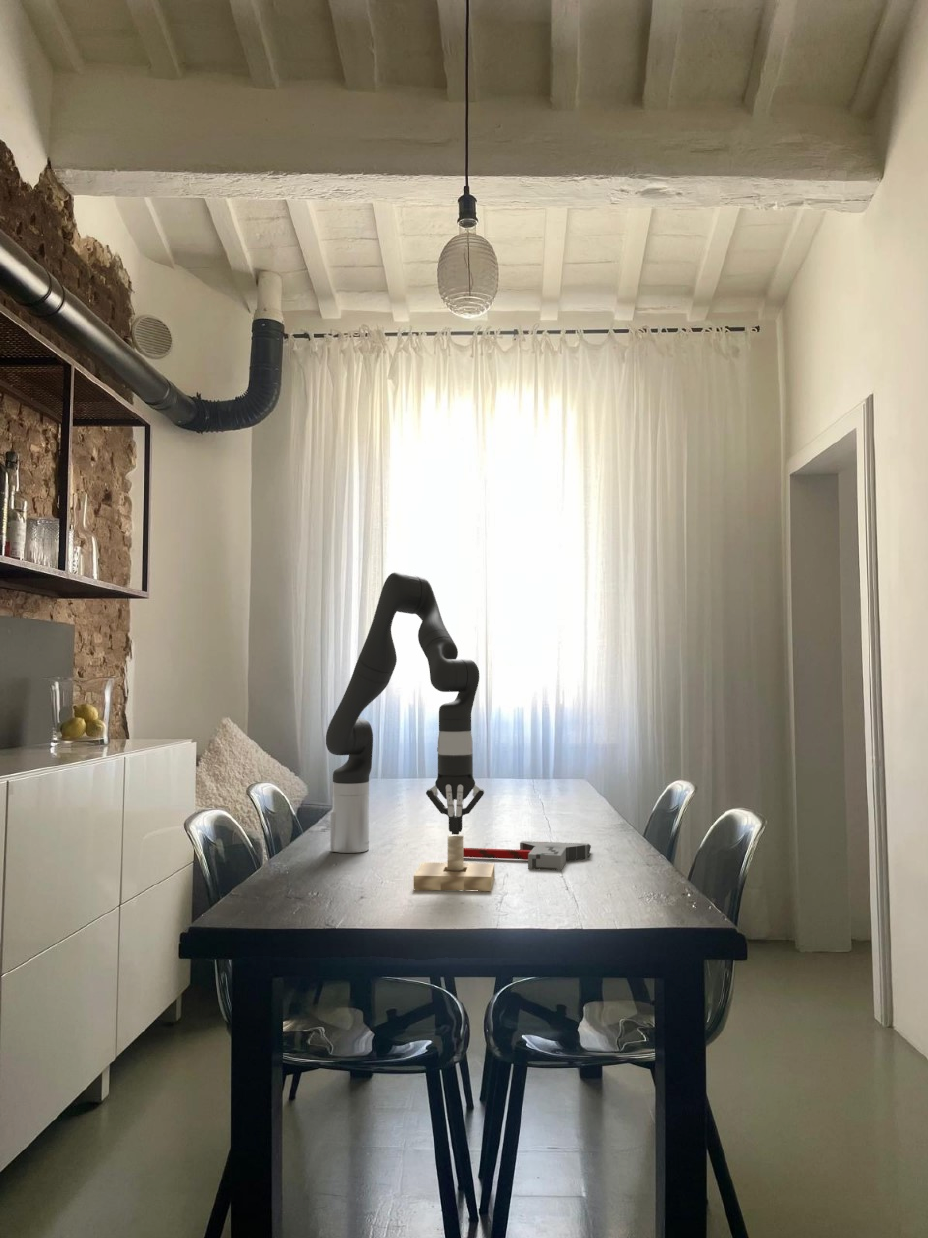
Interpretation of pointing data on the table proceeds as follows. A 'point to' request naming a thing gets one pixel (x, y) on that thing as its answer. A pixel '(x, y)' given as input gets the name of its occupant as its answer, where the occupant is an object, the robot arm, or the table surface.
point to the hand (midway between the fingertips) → (455, 834)
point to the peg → (455, 853)
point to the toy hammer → (537, 853)
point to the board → (454, 877)
